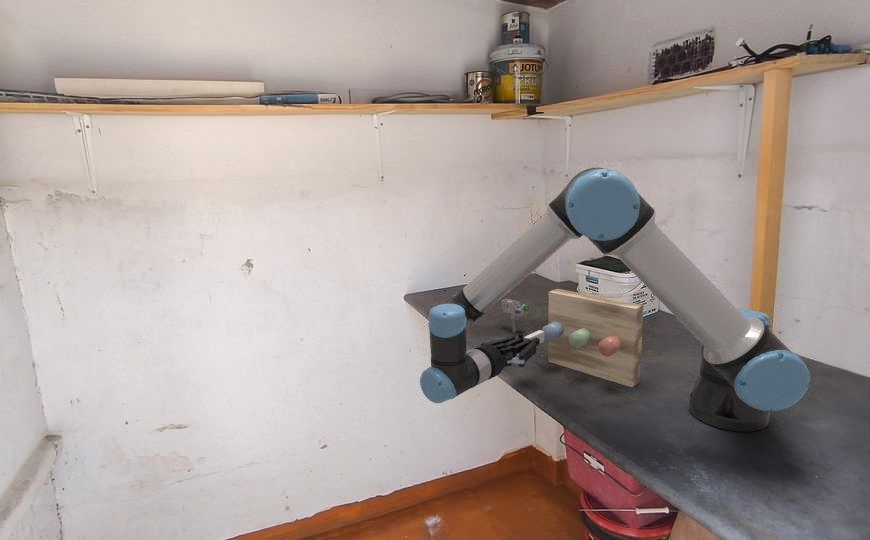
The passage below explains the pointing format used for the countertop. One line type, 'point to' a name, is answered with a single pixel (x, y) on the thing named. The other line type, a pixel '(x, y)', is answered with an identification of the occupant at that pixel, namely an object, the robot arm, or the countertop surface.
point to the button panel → (597, 335)
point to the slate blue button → (552, 330)
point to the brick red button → (610, 345)
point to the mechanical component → (514, 310)
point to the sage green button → (580, 338)
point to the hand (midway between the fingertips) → (541, 335)
